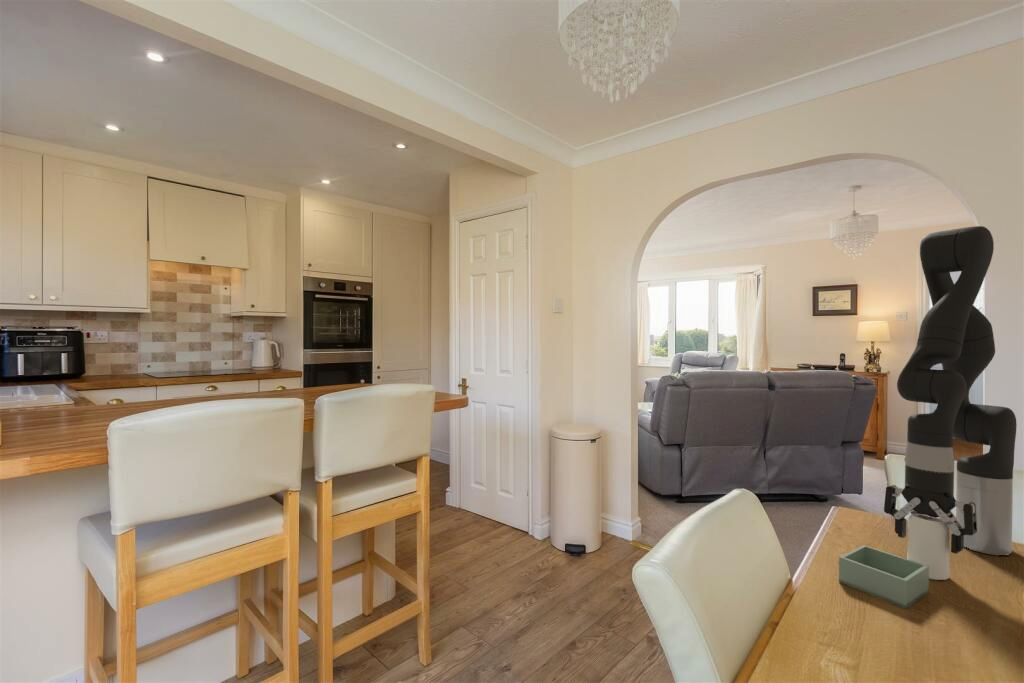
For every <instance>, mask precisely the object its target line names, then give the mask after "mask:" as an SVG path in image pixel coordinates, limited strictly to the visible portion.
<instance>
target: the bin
mask: <svg viewBox="0 0 1024 683" xmlns="http://www.w3.org/2000/svg"><path fill="white" fill-rule="evenodd" d="M838 565H839V566H838V582H839V581H840V582H842V583H844V584H843V585H845V584H846V585H845V586H847V585H848V587H850V588H853V589H855V590H859V591H860V592H862V593H865V594H867V593H868V595H871V596H873V597H875V596H876V597H875V598H878V599H880V598H881V599H880V600H882V601H885V600H886V601H885V602H887V603H890V604H893V605H896V606H898V607H900V608H903V609H908V608H909V607H911V606H912V605H913V604H914V603H916V602H917V601H919V600H920V599H921V598H923V597H924V596H926V595H927V594H928V593H929V591H930V590H929V588H930V579H929V566H927V565H924V564H921V563H918V562H915V561H912V560H909V559H907V558H905V557H902V556H899V555H896V554H893V553H890V552H886V551H884V550H880V549H878V548H874V547H871V546H868V545H864V544H862V545H860V546H858V547H856V548H855V549H854V548H853V550H850V551H848V552H846V553H844V554H843V555H840V556H838ZM840 582H839V583H840ZM842 583H841V584H842Z"/></svg>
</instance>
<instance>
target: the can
mask: <svg viewBox="0 0 1024 683" xmlns="http://www.w3.org/2000/svg"><path fill="white" fill-rule="evenodd" d="M950 540H951V530H950V528H949V527H948V526H947V525H946V524H945V523H944V522H943V521H942V520H941V518H940V517H939V518H934V517H930V516H928V515H925V514H918V513H917V512H915V511H914V510H913V511H912V512H910V515H909V517H908V519H907V549H906V550H907V554H906V555H907V558H906V559H909V560H912V561H915V562H918V563H921V564H924V565H927V566H929V580H932V581H937V580H944V581H947V580H948V579H949V578H950V552H951V542H950Z"/></svg>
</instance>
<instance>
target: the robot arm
mask: <svg viewBox="0 0 1024 683" xmlns="http://www.w3.org/2000/svg"><path fill="white" fill-rule="evenodd" d="M993 254H994V238H993V235H992V233H991V231H990V230H989V229H988V228H987V227H986V226H983V225H982V226H981V225H977V226H975V225H974V226H967V227H961V228H954V229H947V230H942V231H941V230H939V231H935V232H931V233H928V234H925V235H924V236H923V238H922V239H921V241H920V245H919V257H920V263H921V266H922V272H923V275H924V278H925V282H926V286H927V289H928V292H929V296H930V300H931V305H932V307H931V308H930V309H929V310H928V311H927V312H926V314H925V315H924V317H923V320H922V321H921V324H920V328H919V332H918V336H917V342H916V347H915V349H914V351H913V352H912V353H911V356H910V358H909V359H908V361H907V362H906V364H905V366H904V367H903V368H902V370H901V372H900V374H899V376H898V378H897V382H896V389H897V391H898V394H899V395H900V397H901V398H902V399H904V400H906V401H909V402H915V403H925V404H926V403H927V404H934V405H935V404H936V408H935V409H934V410H933V412H931V413H930V412H929V413H915V414H911V415H909V417H908V418H907V419H908V420H907V434H906V435H907V438H906V439H907V440H906V441H907V442H906V446H905V447H906V449H905V457H904V488H901V487H898V486H897V485H894V484H892V485H891V484H890V485H888V486H886V487H885V495H884V496H885V497H884V504H883V505H884V506H883V511H884V513H885V514H888V515H891V516H892V517H893V518H894V531H895V534H897V536H898V538H900V539H903V538H905V537H907V519H906V518H905V517H907V516H908V515H910V514H911V512H912V511H915V512H917V513H918V514H925V515H928V516H930V517H934V518H939V517H940V518H941V520H942V521H943V522H944V523H945V524H946V525H947V526H948V527H949V528H950V532H952V533H950V540H951V542H950V552H951V553H952V554H956V555H957V554H959V553H960V552H962V551H963V550H964V548H966V547H967V548H966V549H968V548H969V550H971V551H975V552H978V553H983V554H988V555H993V556H999V555H1006V554H1011V553H1013V552H1012V551H1013V549H1012V547H1013V507H1014V506H1013V502H1014V500H1013V497H1014V496H1013V494H1014V491H1013V487H1014V486H1013V483H1014V480H1013V478H1014V462H1015V448H1016V437H1017V425H1018V424H1017V417H1016V415H1015V412H1014V411H1013V410H1012V409H1011V408H1009V407H1006V406H998V405H987V404H979V403H977V404H976V403H971V402H970V397H969V396H970V390H971V388H972V386H973V384H974V383H975V381H976V380H977V379H978V378H979V376H980V375H981V374H982V373H983V372H984V371H985V370H986V369H987V367H988V366H989V365H990V363H991V362H992V360H993V358H994V357H995V354H996V345H995V343H996V342H995V337H994V330H993V325H992V323H991V322H990V321H989V319H988V318H987V317H986V316H985V315H984V314H983V313H982V312H981V311H980V309H978V308H977V307H976V306H975V305H974V304H975V302H976V300H977V296H978V294H979V292H980V291H981V288H982V285H983V283H984V280H985V277H986V275H987V273H988V270H989V267H990V264H991V261H992V259H993ZM956 272H961V273H960V274H959V276H958V278H957V280H956V281H955V283H954V281H953V278H952V276H951V273H956ZM940 364H941V366H942V369H934V368H933V367H934V366H936V365H937V366H938V365H940ZM954 439H955V440H956V441H960V442H964V443H971V444H975V445H976V444H977V445H984V446H989V451H988V452H986V453H983V454H980V455H971V456H970V455H969V456H962V457H959V458H958V459H957V461H956V487H954V486H955V485H954V484H955V452H954V448H953V446H954ZM955 488H956V496H955V495H954V494H955V492H954V489H955ZM901 495H902V496H903V498H904V500H906V502H907V503H906V504H905V505H904V506H902V507H901V508H900V509H899V510H898V509H897V508H896V505H897V498H899V497H900V496H901ZM954 496H955V497H954ZM955 498H956V499H955ZM955 508H956V509H955ZM953 509H955V511H956V512H955V514H954V513H953V511H952V510H953ZM1011 555H1012V554H1011Z"/></svg>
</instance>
